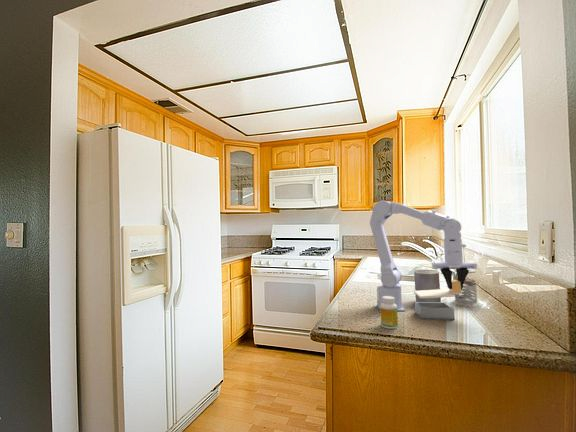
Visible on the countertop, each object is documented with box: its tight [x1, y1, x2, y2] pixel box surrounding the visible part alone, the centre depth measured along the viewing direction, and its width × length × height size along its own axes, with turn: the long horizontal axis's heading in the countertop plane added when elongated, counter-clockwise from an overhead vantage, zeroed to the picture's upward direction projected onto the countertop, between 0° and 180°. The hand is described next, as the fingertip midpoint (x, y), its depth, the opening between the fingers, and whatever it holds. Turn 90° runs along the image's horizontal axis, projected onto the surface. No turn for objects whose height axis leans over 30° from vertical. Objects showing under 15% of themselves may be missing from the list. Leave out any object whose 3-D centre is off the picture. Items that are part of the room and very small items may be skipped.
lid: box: [413, 279, 463, 298], centre depth 105 cm, size 15×9×4 cm, turn 81°
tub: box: [414, 301, 456, 321], centre depth 105 cm, size 11×8×4 cm
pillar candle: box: [413, 268, 442, 302], centre depth 121 cm, size 10×10×15 cm
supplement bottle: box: [379, 296, 399, 330], centre depth 96 cm, size 5×5×10 cm
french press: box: [452, 243, 481, 307], centre depth 121 cm, size 10×12×25 cm
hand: (454, 288), depth 104 cm, fingers closed on lid, 3 cm apart
